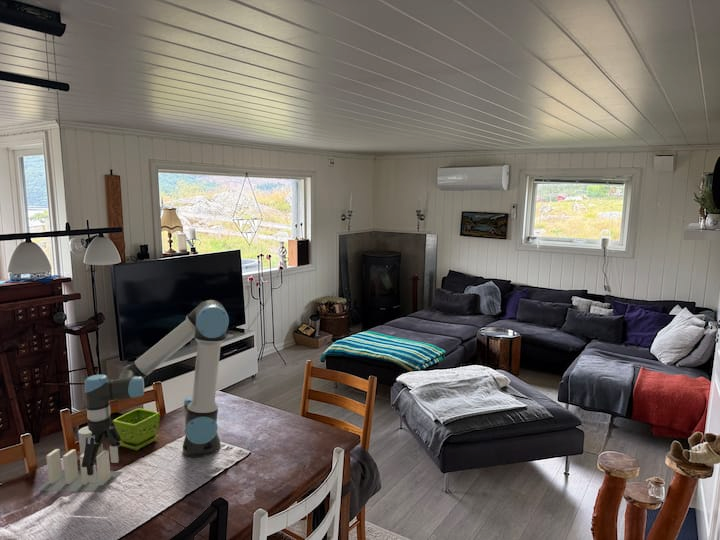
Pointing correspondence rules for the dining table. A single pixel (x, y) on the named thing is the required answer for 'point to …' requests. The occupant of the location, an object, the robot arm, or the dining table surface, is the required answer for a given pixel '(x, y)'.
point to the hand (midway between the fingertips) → (104, 471)
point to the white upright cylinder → (83, 435)
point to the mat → (78, 484)
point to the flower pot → (137, 428)
